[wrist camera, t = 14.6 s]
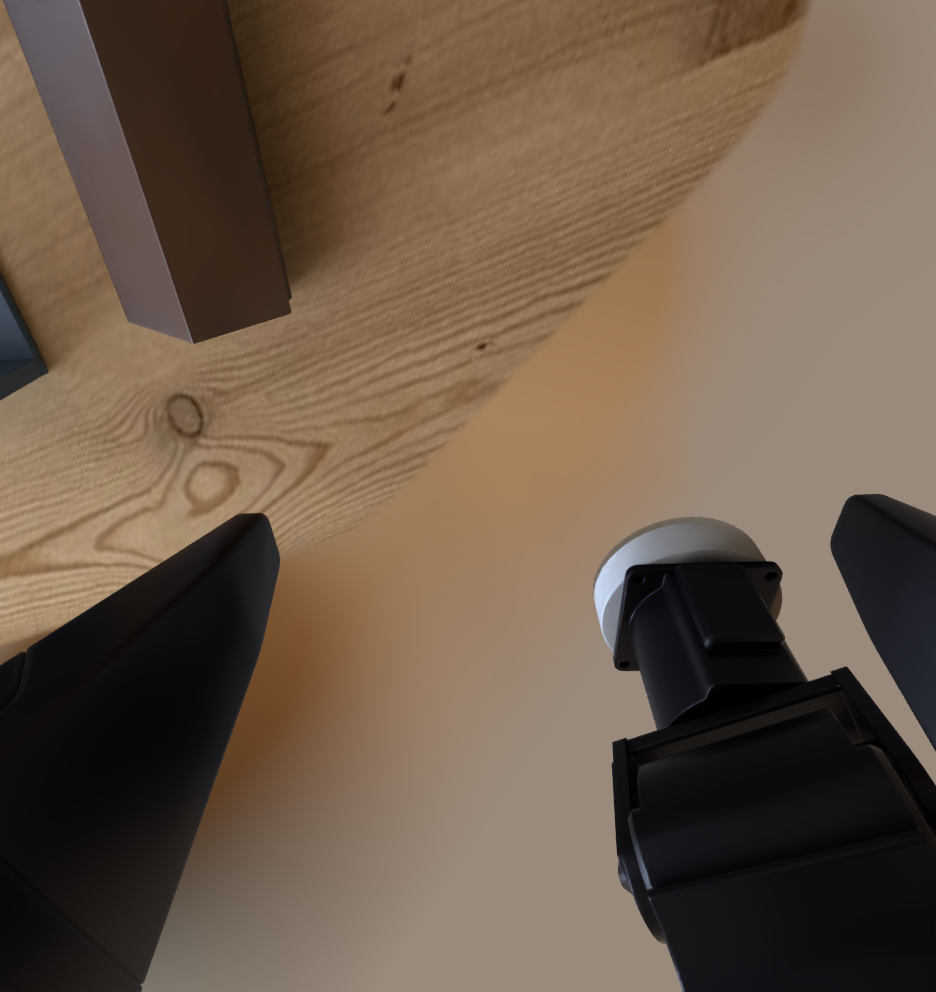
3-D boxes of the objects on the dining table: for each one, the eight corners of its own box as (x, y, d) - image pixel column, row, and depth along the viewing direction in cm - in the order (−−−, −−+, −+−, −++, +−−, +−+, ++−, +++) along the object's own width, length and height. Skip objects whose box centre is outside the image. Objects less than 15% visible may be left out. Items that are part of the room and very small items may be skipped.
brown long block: (320, 305, 16) (193, 344, 14) (250, 290, 18) (127, 322, 16) (183, -401, 10) (-112, -573, 7) (95, -306, 12) (-161, -416, 9)
